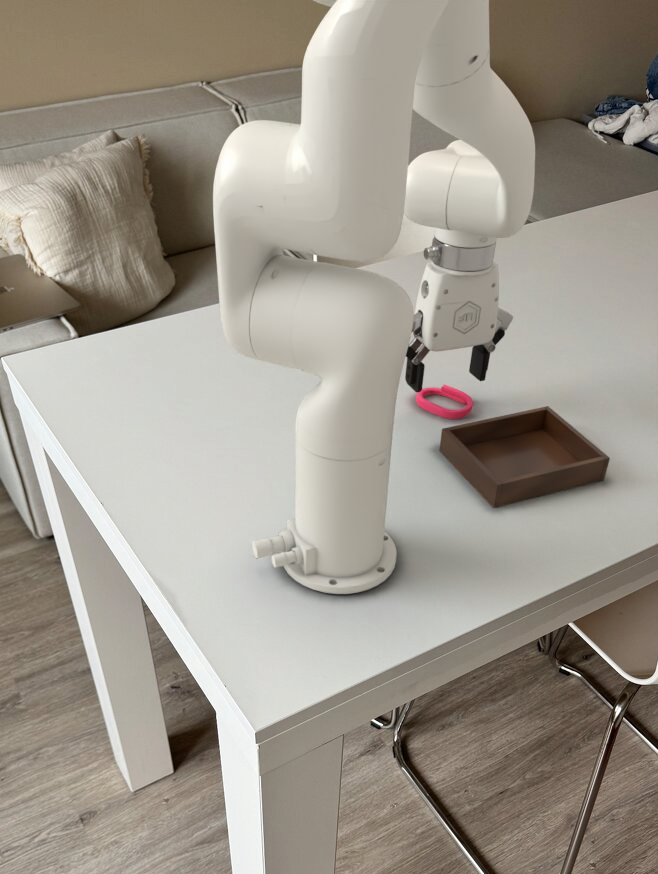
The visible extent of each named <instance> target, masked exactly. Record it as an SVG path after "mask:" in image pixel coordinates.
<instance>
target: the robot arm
mask: <svg viewBox="0 0 658 874" xmlns="http://www.w3.org/2000/svg"><path fill="white" fill-rule="evenodd" d="M312 1H313V2H315V3H318V4H320V5H324V6H326V7H330V8H329V10H328V11H327V12H326V14H325V15H324V17H323V18H322V19H321V21H320V23H319V24H318V25H317V28H316V30H315V31H314V33H313V35H312V37H311V38H310V40H309V43H308V45H307V47H306V50H305V53H304V56H303V60H302V68H301V69H302V70H301V105H300V106H301V107H300V111H301V112H300V113H301V114H300V123H293V122H285V121H280V120H269V119H258V120H257V119H256V120H251V121H247V122H245V123H242V124H241V125H239V126H237V128H235V129H234V130H233V131H232V132H231V133H230V134H229V135H228V137H227V138H226V140H225V142H224V143H223V145H222V147H221V150H220V152H219V155H218V159H217V163H216V166H215V172H214V178H213V187H212V188H213V189H212V212H213V213H212V214H213V215H212V216H213V230H214V231H213V232H214V242H215V243H214V245H215V259H216V260H215V261H216V274H217V288H218V301H219V302H218V303H219V311H220V312H219V313H220V320H221V321H220V322H221V327H222V331H223V334H224V336H225V339H226V340H227V342H228V344H229V346H230V347H231V348H232V349H233V350H234V351H236V352H237V353H238V354H240V355H243V356H244V357H247V358H251V359H253V360H257V361H261V362H265V363H269V364H273V365H277V366H282V367H287V368H290V369H295V370H299V371H301V372H304V373H307V374H311V375H314V376H316V377H318V378H319V379H320V382H319V383H317V384H316V385H315V386H314V387H313V388H312V389H311V390H310V391H309V392H307V394H306V395H305V396H304V397H303V399H302V401H300V404H299V406H298V409H297V413H296V416H295V430H294V431H295V434H294V435H295V518H291V519H287V520H286V530H282V531H279V533H278V535H275V536H273V537H264V538H260V539H256V540H252V541H251V549H252V553H253V556H254V558H255V559H256V560H258V559H261V558H265V557H270V556H271V563H272V566H273V568H276V569H277V568H280V567H283V568H284V570H285V572H286V573H287V574H288V576H290V577H291V578H292V579H294V581H296V582H297V583H299V584H300V585H301V586H304V587H306V588H309V589H311V590H314V591H317V592H321V593H324V594H334V595H350V594H357V593H361V592H365V591H369V590H371V589H373V588H375V587H378V586H379V585H381V584H383V582H385V581H386V580H387V579H388V578H390V576H391V575H392V573H393V572H394V570H395V567H396V563H397V553H398V551H397V548H396V544H395V542H394V540H393V538H392V537H391V535H389V534H388V532H386V531H385V529H386V526H385V525H386V517H387V503H388V492H389V483H390V481H389V480H390V471H391V470H390V469H391V458H392V457H391V456H392V446H393V445H392V444H393V433H394V422H395V415H396V404H397V398H398V391H399V385H400V380H401V376H402V373H403V368H404V364H405V360H406V365H405V376H404V379H405V382H406V384H407V385H408V387H410V388H411V389H412V390H413V391H414V392H415V393H418V392H421V391H422V389H423V385H424V376H425V367H426V366H425V363H423V360H424V359H425V358H426V356H427V355H428V354H429V353H430V351H431V352H436V353H437V352H438V353H439V352H445V351H446V352H447V351H452V350H458V349H464V348H465V349H466V348H471V347H472V350H471V356H470V363H469V369H468V372H469V373H470V374H471V376H473V377H475V379H476V380H477V381H479V382H484V381H486V377H487V371H488V369H489V363H490V357H491V354H492V353H494V352H495V350H496V348H497V347H496V345H497V344H499V342H500V341H501V340H502V339H503V338H504V337H505V334H506V331H507V330H508V328H509V327H510V324H511V323H512V322H513V319H514V315H512V314H511V313H510V312H508V311H506V310H504V309H502V308H500V307H499V304H500V303H499V300H500V273H499V265H498V263H496V262H494V258H495V251H496V246H497V239H506V238H507V239H508V238H510V237H512V236H515V235H516V234H518V232H520V231H521V230H522V228H523V227H524V225H525V224H526V222H527V220H528V218H529V216H530V213H531V209H532V204H533V198H534V191H535V174H536V173H535V172H536V141H535V140H536V139H535V135H534V131H533V127H532V124H531V122H530V120H529V118H528V115H527V114H526V113H525V111H524V108H523V107H522V105H521V104H520V103H519V101H518V99H517V97H515V95H514V94H513V92H512V91H511V90H510V88H509V87H508V86H507V85H506V84H505V82H504V81H503V79H501V78H500V77H499V76H498V74H497V73H496V72H495V71H494V70H493V69H492V68H491V57H490V56H491V55H490V54H491V53H490V51H491V44H490V43H491V42H490V0H312ZM413 111H414V112H415V113H417V114H418V115H420V117H422V118H423V119H425V120H426V121H428V122H430V123H431V124H433V125H434V126H436V127H437V128H439V129H441V130H442V131H443V132H446V133H447V134H449V135H450V136H453V137H455V138H456V139H457V140H454V141H452V142H450V143H449V144H448V145H447V147H446V148H443V149H442V148H441V149H437V150H436V149H435V150H430V151H427V152H423V153H421V154H419V155H418V156H417V157H415V158H414V159H413V160H412V161H411V162H410V163H409V159H410V148H411V133H412V121H413ZM404 217H406V219H408V220H409V221H411V222H412V223H414V224H417V225H420V226H424V227H429V228H434V233H433V234H434V235H433V238H432V241H431V245H430V246H429V247H425V248H424V250H423V257H424V259H425V260H431V261H428V262H427V263H426V265H425V267H424V271H423V275H422V277H421V280H420V285H419V289H418V293H417V298H416V303H415V309H414V306H413V302H412V299H411V296H410V295H409V294H408V293H407V291H406V290H405V289H404V288H403V286H401V285H400V284H399V283H398V282H396V281H394V279H393V280H392V279H391V278H389V277H387V276H384V275H381V274H379V273H377V272H373V271H369V270H365V269H359V268H355V267H349V266H345V265H340V264H335V263H329V262H325V261H321V262H320V261H315V260H312V259H311V260H310V259H305V258H300V257H295V256H289V255H285V254H284V250H288V251H292V252H296V253H298V252H299V253H303V254H308V255H314V256H318V257H322V258H323V257H325V258H330V259H335V260H343V261H350V262H351V261H352V262H353V261H354V262H369V261H370V262H371V261H376V260H379V259H381V258H384V257H385V256H386V255H387V254H389V253H390V252H391V251H392V250H393V249H394V247H395V245H396V244H397V242H398V240H399V237H400V234H401V230H402V225H403V220H404ZM412 333H413V334H412ZM412 335H413V339H411V338H412Z"/></svg>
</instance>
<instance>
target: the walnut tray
mask: <svg viewBox="0 0 658 874" xmlns="http://www.w3.org/2000/svg"><path fill="white" fill-rule="evenodd" d="M439 441H440V442H439V449H438V451H439V452H440V454H441V455H442V456H444V458H445V459H446V460H447V461H448V462H449V463H450V464H451V465H452V466H453V467H454V468H455V470H457V472H458V473H460V474H461V476H462V477H463V478H464V479H465V480H466V481H467V482H468V483H469V484H470V485H471V486H472V487H473V488H474V489H475V490H476V491H477V492H478V494H479V495H480V496H481V497H482V498H483V499H484V500H485V502H487V503H488V504H489V505H490V506H491V507H492V508H493V509H495V508H499V507H504V506H507V505H512V504H516V503H520V502H523V501H527V500H531V499H536V498H540V497H543V496H549V495H551V494H552V495H553V494H555V493H560V492H563V491H567V490H572V489H576V488H580V487H583V486H588V485H592V484H596V483H600V482H603V481H605V478H606V474H607V471H608V467H609V463H610V461H611V460H610V459H611V458H610V456H608V455H607V454H606V453H605V452H604V451H603V450H601V449H600V448H599V447H598V446H596V444H594V443H593V442H592V441H591V440H590V439H588V438H587V437H586V436H584V435H583V434H582V433H581V432H580V431H578V430H577V429H576V428H575V427H574V426H572V425H571V424H570V423H569V422H568V421H567V420H565V419H564V418H563V417H562V415H559V414H558V413H557V412H556V411H554V410H553V409H552V408H551V406H549V405H546V406H540V407H537V408H532V409H527V410H524V411H523V410H522V411H518V412H513V413H509V414H505V415H500V416H495V417H490V418H485V419H480V420H476V421H472V422H467V423H461V424H458V425H454V426H448V427H444V428H442V429H441V434H440V440H439Z"/></svg>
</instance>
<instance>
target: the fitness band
mask: <svg viewBox="0 0 658 874" xmlns="http://www.w3.org/2000/svg"><path fill="white" fill-rule="evenodd" d="M429 395H438V396H443V397H445V398H448V399H451V400H453V401H455V402H458V403H460V404H462V405H466V406H465V407H463V408H460V409H458V408H457V409H450V408H446V407H443V406H441V405H438V404H436V403H433V402H432V401H429V400H427V399H426V398H424V397H426V396H429ZM415 399H416V404H417V405H418V406H419V408H420V409H423V410H425V411H426V412H429V413H430V414H433V415H436V416H438V417H441V418H444V419H448V420H459V419H463V418H465V417H467V416H468V415H470V413H471V412H472V411H473V407H474V400H473V398H472V397H471V396H470V395H469V394H467V393H466V392H464V391H463V390H460V389H458V388H455V387H452V386H450V385H448V384H441V386H440V388H439V387H425V388H422V391H421V392H416V397H415Z"/></svg>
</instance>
